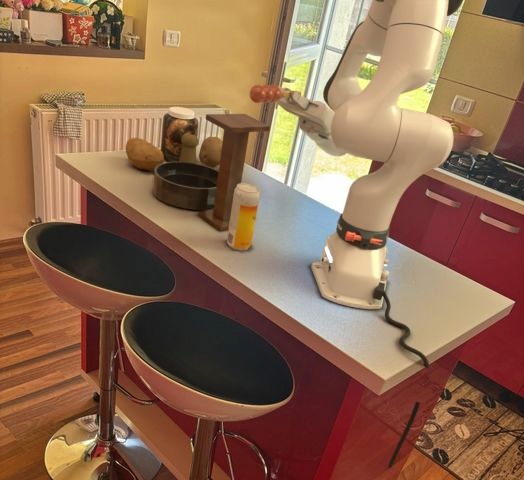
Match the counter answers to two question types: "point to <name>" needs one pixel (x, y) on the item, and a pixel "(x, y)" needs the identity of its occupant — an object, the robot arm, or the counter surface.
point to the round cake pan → (186, 185)
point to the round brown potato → (211, 151)
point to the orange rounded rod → (268, 94)
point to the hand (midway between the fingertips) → (288, 92)
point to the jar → (177, 131)
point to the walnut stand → (230, 163)
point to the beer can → (243, 216)
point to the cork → (188, 148)
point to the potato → (143, 154)
